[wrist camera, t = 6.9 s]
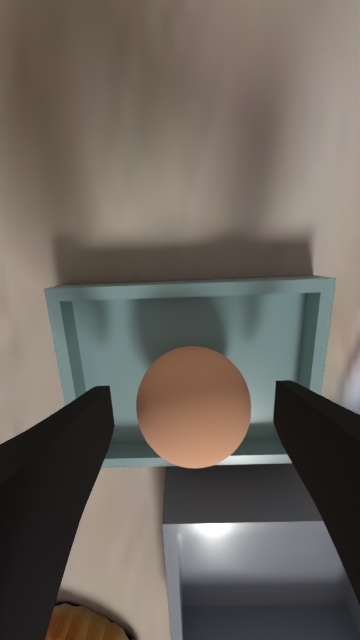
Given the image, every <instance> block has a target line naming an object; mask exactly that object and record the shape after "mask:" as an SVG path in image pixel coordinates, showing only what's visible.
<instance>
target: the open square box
mask: <svg viewBox="0 0 360 640" xmlns="http://www.w3.org/2000/svg"><path fill="white" fill-rule="evenodd" d="M162 528H163V541H164V555H165V568H166V582H167V595H168V609H169V622H170V635H171V640H360V605H359V603H358V600H357V598H356V595H355V593H354V590H353V588H352V586H351V583H350V581H349V579H348V576H347V574H346V572H345V569H344V567H343V565H342V562H341V560H340V558H339V555H338V553H337V551H336V548H335V546H334V544H333V542H332V539H331V537H330V535H329V533H328V531H327V528H326V526H325V524H324V522H323V519H322V517H321V515H320V513H319V511H318V509H317V507H316V505H315V503H314V501H313V499H312V498H311V496H310V494H309V492H308V491H307V489H306V487H305V485H304V483H303V482H302V480H301V478H300V476H299V474H298V473H297V471H296V469H295V467H294V465H293V464H292V463H283V464H242V465H212V466H209V467H205V468H185V467H180V466H166V479H165V493H164V507H163V521H162Z"/></svg>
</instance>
